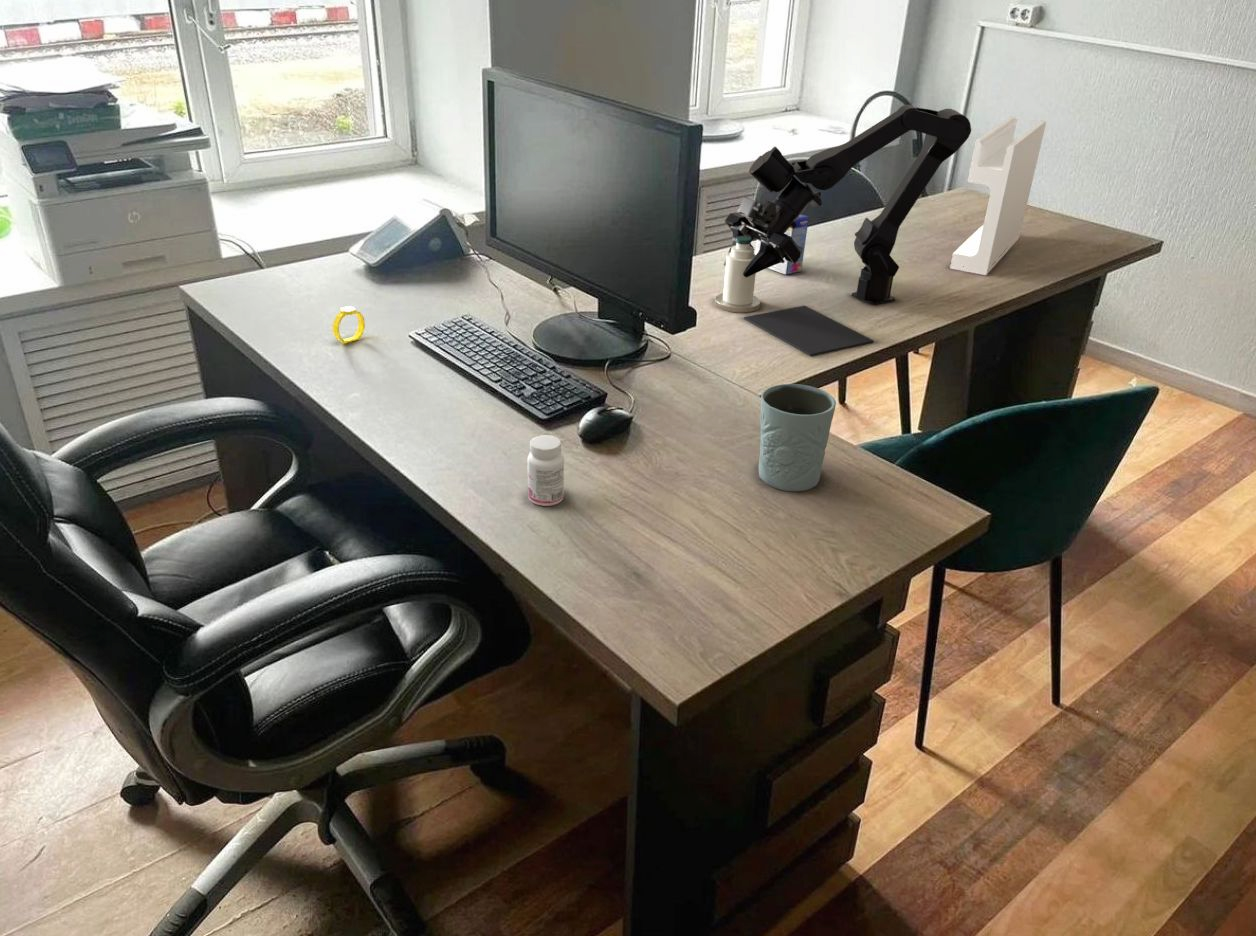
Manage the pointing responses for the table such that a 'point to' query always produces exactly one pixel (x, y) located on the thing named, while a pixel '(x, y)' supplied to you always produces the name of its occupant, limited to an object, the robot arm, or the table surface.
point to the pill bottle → (545, 471)
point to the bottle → (739, 273)
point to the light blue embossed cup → (794, 435)
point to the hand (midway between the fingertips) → (734, 271)
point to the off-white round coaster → (737, 308)
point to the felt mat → (808, 330)
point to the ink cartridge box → (799, 238)
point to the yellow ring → (338, 318)
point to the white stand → (1000, 193)
